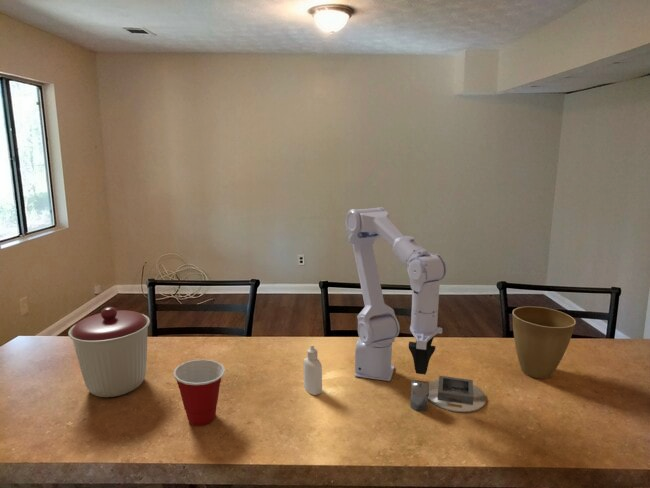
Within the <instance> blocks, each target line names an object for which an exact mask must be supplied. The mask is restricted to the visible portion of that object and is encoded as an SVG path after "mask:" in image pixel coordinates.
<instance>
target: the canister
mask: <svg viewBox="0 0 650 488" xmlns="http://www.w3.org/2000/svg"><path fill="white" fill-rule="evenodd" d="M100 311H101V312H100V313H99V312H98V313H96V314H93V315H90V316H88V317H85V318H83V319H82V320H80V321H78V322H77V323H76V324H74V325H72V326H71V327H70V328H69V330H68V332H67V333H68V334H67V335H68V337H69V338H70V339H71V340H72V343H73V346H74V351H75V353H76V357H77V360H78V364H79V368H80V371H81V375H82V378H83V381H84V385H85V387H86V389H87V390H88V392H89V393H90V394H92V395H94V396H96V397H100V398H109V397H110V398H114V397H120V396H122V395H125V394H128V393H130V392H132V391H135V390H136V389H137V388H138V387H140V386H141V384H142V383H143V382H144V380H145V377H146V373H147V362H148V361H147V360H148V357H147V356H148V327H149V326H150V324H151V320H150V318H149V316H147V315H146V314H144V313H140V312H137V311H134V310H124V309H122V310H117V308H115V307H114V306H105V307H104V308H103V309H102V310H100Z"/></svg>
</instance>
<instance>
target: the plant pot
mask: <svg viewBox="0 0 650 488" xmlns="http://www.w3.org/2000/svg"><path fill="white" fill-rule="evenodd" d="M511 314H512V331H513V339H514V345H515V350H516V355H517V359H518V363H519V366H520V370H521V371H522V372H523V374H525V375H526V376H529V377H531V378H534V379H541V380H543V379H549V378H551V377H552V376H553V374H554V373H555V372H556V370H557V368H558V366H559V364H560V363H561V361H562V360H563V357H564V355H565V353H566V351H567V349H568V346H569V344H570V341H571V340H572V339H571V338H572V337H573V336H572V335H573V333H574V330H575V327H576V324H577V323H576V319H575V318H574V317H572V316H571V315H569V314H568V313H565V312H562V311H561V310H560V311H559V310H558V309H553V308H550V307H549V308H548V307H543V306H519V307H516V308H514V309H513V310H512V313H511Z"/></svg>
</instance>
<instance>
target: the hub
mask: <svg viewBox="0 0 650 488" xmlns="http://www.w3.org/2000/svg"><path fill="white" fill-rule="evenodd" d="M473 382H474V380H473V379H467V378H461V377H460V378H459V377H455V376H454V377H453V376H452V377H451V376H445V375H439V376H438V379H435V380H433V381H431V382H429V397H428V401H429V402H431V404H433V405H435V406H436V407H438V408H441V409H443V410H446V411H448V412H449V411H450V412H454V413H471V412H472V413H473V412H476V411H478V410H481V409H483V407H484V406H485V404H486V401H487V398H486V394H485V392H484V391H483V390H482V389H481V388H480V387H478V386H477V385H475V384H474V383H473Z"/></svg>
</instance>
